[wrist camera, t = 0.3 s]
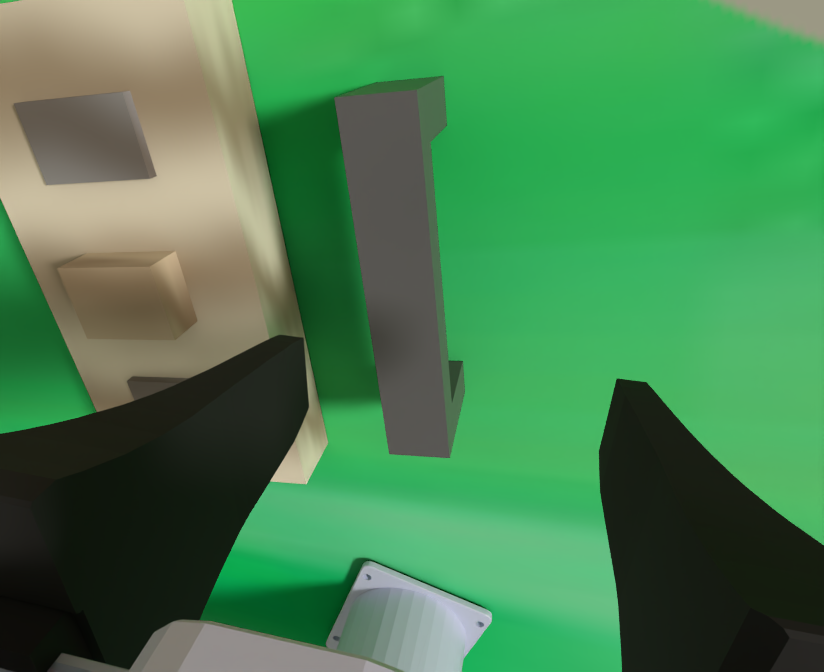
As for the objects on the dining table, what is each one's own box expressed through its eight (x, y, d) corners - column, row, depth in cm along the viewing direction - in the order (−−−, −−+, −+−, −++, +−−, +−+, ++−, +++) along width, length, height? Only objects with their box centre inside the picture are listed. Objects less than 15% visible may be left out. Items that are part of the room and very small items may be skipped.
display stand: (328, 442, 28) (292, 510, 25) (158, 432, 31) (101, 492, 27) (227, -18, 19) (144, -29, 15) (-7, 17, 21) (-131, 16, 17)
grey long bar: (464, 391, 25) (449, 457, 21) (413, 389, 26) (389, 454, 22) (443, 76, 19) (416, 89, 15) (376, 82, 20) (334, 97, 16)
